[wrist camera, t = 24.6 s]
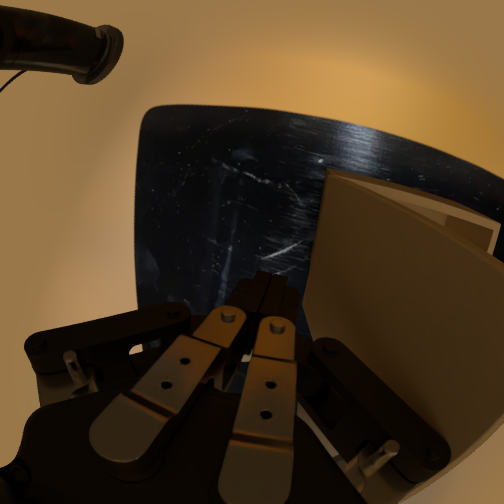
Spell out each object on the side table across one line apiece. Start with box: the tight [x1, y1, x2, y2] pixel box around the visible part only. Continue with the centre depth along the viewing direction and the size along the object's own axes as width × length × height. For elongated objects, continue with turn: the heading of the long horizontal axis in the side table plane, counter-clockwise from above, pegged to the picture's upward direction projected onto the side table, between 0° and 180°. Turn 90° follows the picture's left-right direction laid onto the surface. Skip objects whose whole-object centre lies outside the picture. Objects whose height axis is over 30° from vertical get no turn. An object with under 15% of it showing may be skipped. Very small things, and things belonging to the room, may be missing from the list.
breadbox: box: [310, 168, 501, 267], centre depth 24 cm, size 17×11×11 cm, turn 83°
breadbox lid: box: [302, 175, 504, 504], centre depth 12 cm, size 18×11×1 cm
